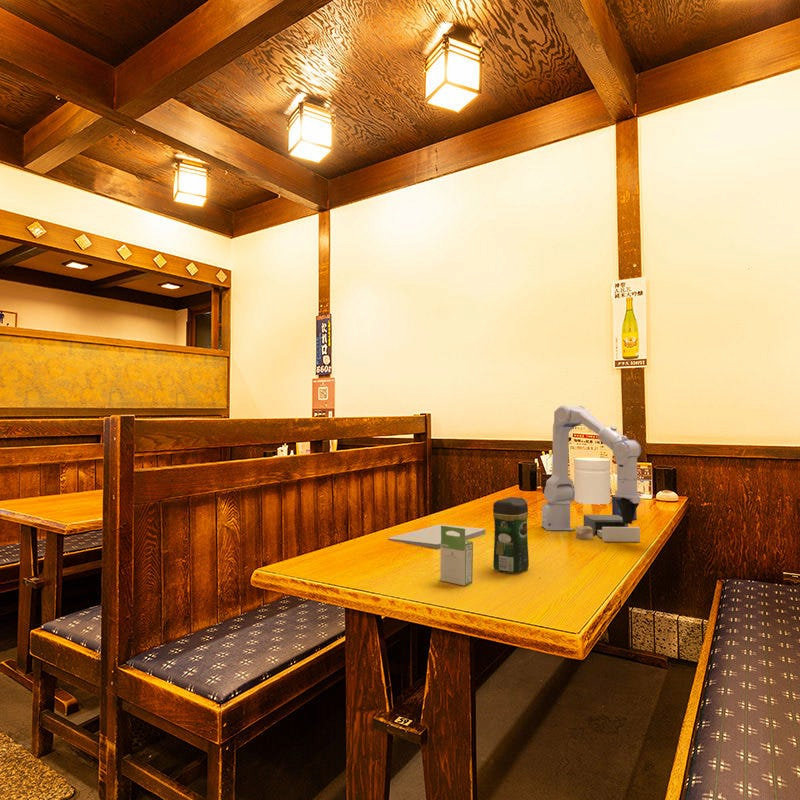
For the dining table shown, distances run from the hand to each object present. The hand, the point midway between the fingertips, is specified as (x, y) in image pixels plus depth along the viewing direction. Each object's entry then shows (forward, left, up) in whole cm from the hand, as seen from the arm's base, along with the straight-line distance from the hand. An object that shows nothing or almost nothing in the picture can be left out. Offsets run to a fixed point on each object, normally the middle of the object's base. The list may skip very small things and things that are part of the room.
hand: (627, 523), depth 167 cm
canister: (+18, +86, -7) cm, 88 cm away
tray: (0, +10, -7) cm, 12 cm away
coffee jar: (-41, -27, -7) cm, 50 cm away
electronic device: (-58, +11, -8) cm, 59 cm away
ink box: (-56, -38, -7) cm, 68 cm away
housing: (0, +19, -7) cm, 20 cm away
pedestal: (-10, +10, -7) cm, 16 cm away
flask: (+16, +43, -7) cm, 47 cm away
